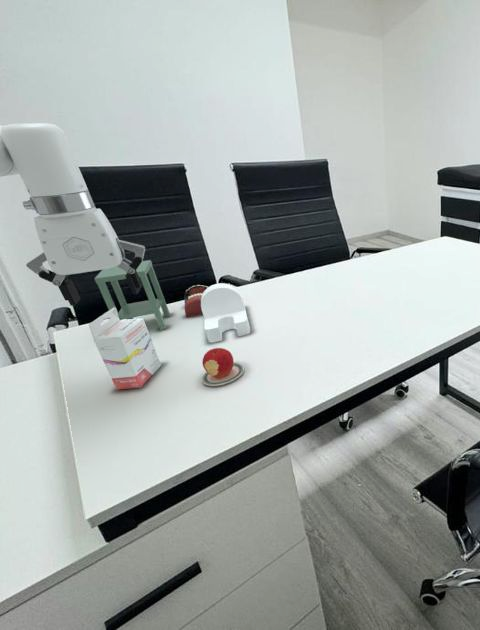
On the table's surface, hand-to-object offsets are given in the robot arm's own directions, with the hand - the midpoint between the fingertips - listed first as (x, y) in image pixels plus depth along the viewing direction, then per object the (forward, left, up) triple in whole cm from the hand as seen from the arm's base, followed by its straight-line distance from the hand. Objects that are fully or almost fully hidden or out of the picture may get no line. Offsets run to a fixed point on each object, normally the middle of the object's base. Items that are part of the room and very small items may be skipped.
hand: (107, 297), depth 73 cm
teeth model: (+10, +33, -18) cm, 39 cm away
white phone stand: (+17, +18, -18) cm, 31 cm away
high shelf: (-3, +28, -18) cm, 34 cm away
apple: (+16, -8, -18) cm, 26 cm away
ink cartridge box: (0, 0, -19) cm, 18 cm away
